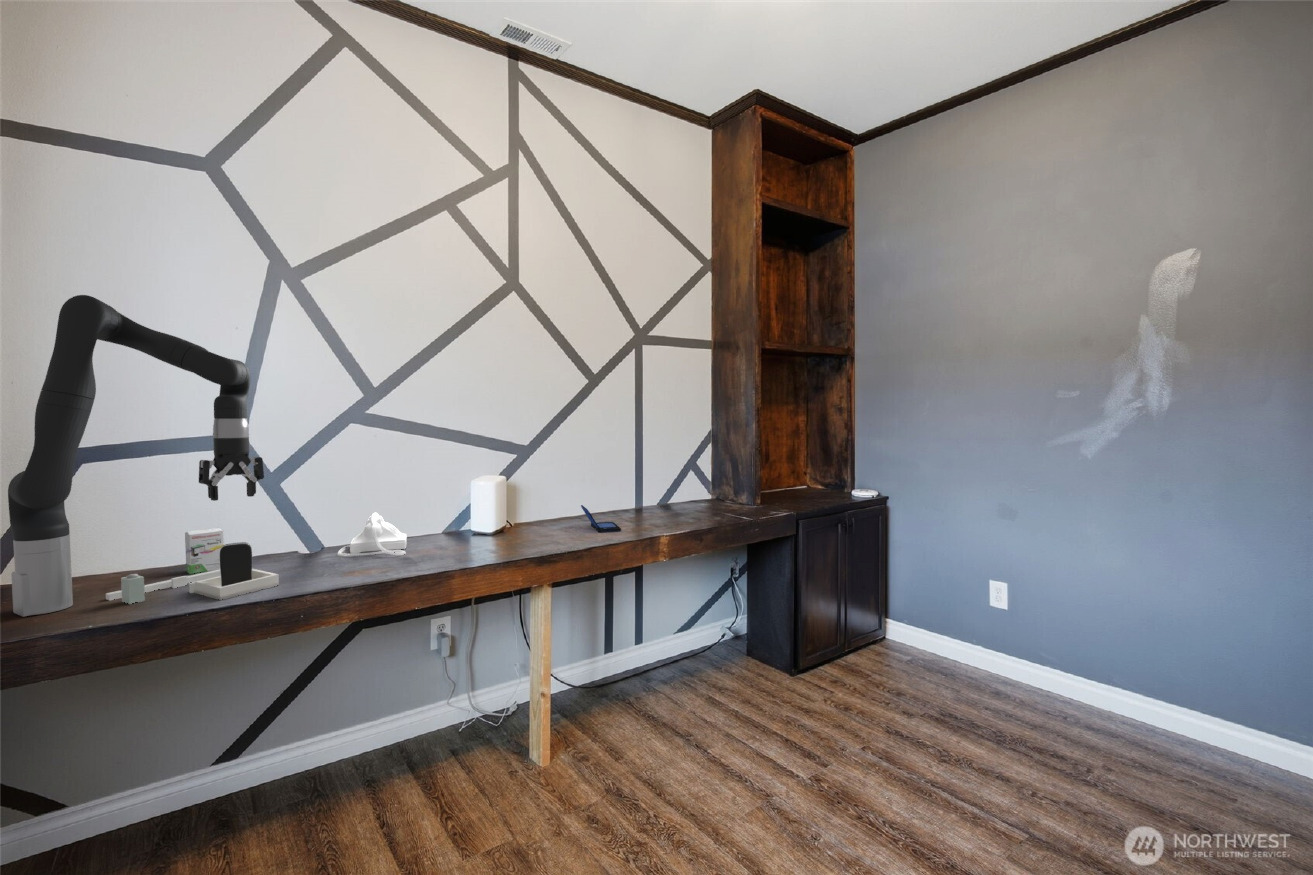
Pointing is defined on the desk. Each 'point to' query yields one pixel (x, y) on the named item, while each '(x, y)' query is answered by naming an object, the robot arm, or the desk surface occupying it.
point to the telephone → (377, 539)
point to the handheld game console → (601, 524)
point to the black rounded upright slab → (235, 563)
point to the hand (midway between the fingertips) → (233, 498)
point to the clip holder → (154, 586)
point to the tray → (236, 585)
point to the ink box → (203, 550)
